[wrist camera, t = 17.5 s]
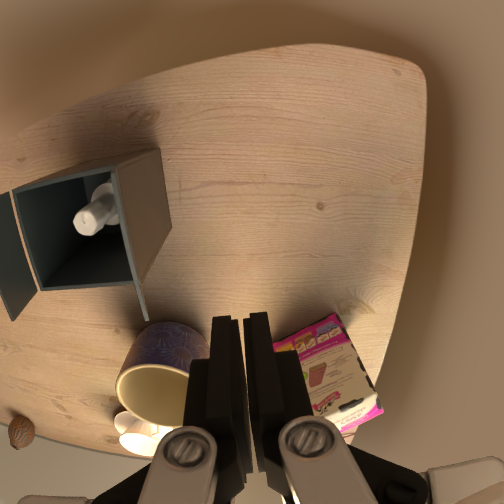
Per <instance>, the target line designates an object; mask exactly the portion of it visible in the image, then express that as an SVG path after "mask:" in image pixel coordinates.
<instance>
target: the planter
mask: <svg viewBox="0 0 504 504" xmlns="http://www.w3.org/2000/svg"><path fill="white" fill-rule="evenodd" d="M209 356H210V349H209V346H208V344H207V342H206V341H205V339H204V338H203V337H202V336H201V335H200V334H199V333H198V332H197V331H195V330H194V329H192V328H191V327H189V326H186V325H184V324H181V323H177V322H159V323H155V324H152V325H150V326H148V327H147V328H145V329H144V330H143V331H142V332H141V333H140V334H139V335H138V336H137V338H136V340H135V341H134V343H133V344H132V346H131V348H130V350H129V352H128V355H127V357H126V359H125V361H124V364H123V366H122V368H121V371H120V373H119V375H118V377H117V380H116V384H115V390H116V394H117V397H118V399H119V401H120V402H121V404H122V405H123V406H124V407H125V408H126V409H127V410H128V411H129V412H130V413H131V414H133V415H134V416H136V417H137V418H139V419H141V420H143V421H145V422H148V423H150V424H153V425H157V426H161V427H168V428H179V427H182V425H183V417H184V409H185V401H186V393H187V385H188V378H189V371H190V364H191V361H192V359H207V358H209Z"/></svg>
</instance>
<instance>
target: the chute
mask: <svg viewBox="0 0 504 504" xmlns="http://www.w3.org/2000/svg"><path fill="white" fill-rule="evenodd" d="M113 166H117V171H118V177H119V183H120V189H121V194H122V200H123V205H124V210H125V215H126V220H127V225H128V230H129V234H130V239H131V243H132V248H133V252H134V256H135V261H136V265H137V269H138V273H139V277H140V281H141V284H142V283H143V281H144V279H145V277H146V275H147V273H148V271H149V269H150V267H151V265H152V263H153V262H154V260H155V258H156V256H157V254H158V252H159V250H160V249H161V247H162V245H163V243H164V241H165V239H166V238H167V236H168V234H169V232H170V230H171V229H172V224H171V218H170V212H169V206H168V200H167V193H166V187H165V180H164V173H163V166H162V159H161V151H160V148H157V149H151V150H145V151H140V152H134V153H129V154H124V155H119V156H114V157H109V158H104V159H99V160H95V161H90V162H86V163H82V164H78V165H75V166H72V167H69V168H67V169H64V170H61V171H58V172H56V173H53V174H50V175H48V176H45V177H42V178H40V179H37V180H35V181H32V182H30V183H27V184H25V185H22V186H20V187H17V188H15V189H13V190H12V193H13V198H14V202H15V207H16V211H17V215H18V219H19V223H20V227H21V231H22V234H23V238H24V241H25V245H26V248H27V252H28V255H29V258H30V261H31V264H32V267H33V270H34V273H35V276H36V279H37V282H38V285H39V287H40V290H41V291H52V290H67V289H81V288H95V287H108V286H121V285H133V284H134V281H133V277H132V273H131V269H130V265H129V261H128V257H127V253H126V249H125V245H124V240H123V236H122V232H121V227H120V223H119V224H117V225H107V224H105V225H104V227H103V228H102V229H101V230H99V231H98V232H96V233H95V234H94V235H91V236H88V235H82V234H80V233H79V232H78V231H77V230H76V228H75V225H74V223H73V220H74V218H75V215H76V214H77V212H78V211H80V210H81V209H82V208H84V207H85V206H86V205H88V204H90V203H91V198H92V195H93V192H94V191H95V189H96V188H97V187H98V186H100V185H101V184H104V183H106V182H107V181H108V180H109V179H110V178H111V175H110V174H111V171H112V168H113ZM37 291H38V290H37V287H36V285H35V282H34V279H33V276H32V273H31V270H30V267H29V264H28V261H27V258H26V255H25V252H24V248H23V245H22V242H21V238H20V235H19V231H18V227H17V224H16V220H15V216H14V212H13V207H12V203H11V198H10V194H9V191H8V192H6V193H3V194H1V195H0V295H1V298H2V300H3V302H4V305H5V307H6V309H7V312H8V314H9V316H10V319H11V321H15V319H16V318H17V317H18V315H19V314H20V313H21V311H22V310H23V309H24V308H25V306H26V305H27V304H28V303H29V301H30V300H31V299H32V298H33V296H34V295H35V294H36V293H37Z"/></svg>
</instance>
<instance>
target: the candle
mask: <svg viewBox="0 0 504 504" xmlns="http://www.w3.org/2000/svg"><path fill="white" fill-rule="evenodd" d="M73 223H74V225H75V228H76V230H77V231H78V232H79V233H80V234H82V235H88V236H91V235H94V234H95V233H96V232H98V231H99V230H101V229H102V228H103V227H104V225H105V224H107V225H117V224H119V223H120V222H119V218H118V213H117V208H116V203H115V197H114V192H113V186H112V181H111V178H110V179H109V180H108V181H107V182H106V183H104V184H101V185H100V186H98V187H97V188H96V189H95V191H94V192H93V195H92V198H91V203H90V204H88V205H86V206H85V207H84V208H82V209H81V210H80V211H78V212H77V214H76V215H75V218H74V220H73Z"/></svg>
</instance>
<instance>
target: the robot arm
mask: <svg viewBox="0 0 504 504" xmlns="http://www.w3.org/2000/svg"><path fill="white" fill-rule="evenodd" d="M243 326H244V343H245V358H246V374H247V382H246V375H245V368H244V361H243V354H242V347H241V340H240V332H239V325H238V319H234V320H231V316H230V315H228V316H217V317H213V319H212V331H211V343H210V356H209V358H207V359H192V361H191V364H190V371H189V378H188V385H187V393H186V401H185V409H184V417H183V425H182V427H179V428H175V429H173V430H171V431H169V432H167V433H166V434H165V435H164V436H163V437H162V438H161V440H160V442H159V443H158V445H157V448H156V451H155V454H154V457H153V460H152V462H151V463H150V464H148V465H147V466H145V467H144V468H142V469H141V470H139V471H138V472H136V473H134V474H133V475H131V476H130V477H128V478H127V479H125V480H123V481H122V482H120V483H119V484H117V485H115V486H114V487H112V488H111V489H109V490H107V491H106V492H104V493H102V494H101V495H99V496H98V497H96V498H95V499H90V500H89V499H87V498H86V497H60V496H41V495H28V496H25V497H23V498H21V499H20V500H19V502H18V503H17V504H234V503H235V496H236V495H237V494H238V493H239V492H241V491H242V490H243V489H244V483H247V482H246V474H247V473H253V465H252V452H251V439H250V438H251V437H250V423H249V414H250V422H251V428H252V434H253V440H254V446H255V452H256V458H257V464H258V470H259V473H260V472H266V475H267V483H268V486H269V487H270V488H272V489H273V490H275V491H277V492H278V493H280V494H281V495H282V499H283V502H284V504H504V462H503V461H502V460H501V459H499V458H497V457H494V456H487V457H482V458H478V459H474V460H470V461H465V462H462V463H456V464H452V465H447V466H441V467H436V468H430V469H428V470H427V471H426V472H421V473H416V472H415V471H413V470H410V469H407V468H405V467H402V466H399V465H397V464H394V463H392V462H389V461H386V460H384V459H382V458H379V457H376V456H374V455H372V454H369V453H367V452H365V451H362V450H360V449H358V448H355V447H353V446H351V445H349V444H346V442H345V440H344V438H343V437H342V435H341V433H340V431H339V429H338V428H337V427H336V425H335V424H334V423H332V422H331V421H329V420H328V419H326V418H323V417H320V416H314V413H313V409H312V405H311V401H310V397H309V394H308V390H307V386H306V382H305V379H304V375H303V371H302V367H301V364H300V360H299V356H298V353H297V350H289V351H280V352H274V348H273V343H272V337H271V332H270V326H269V321H268V315H267V312H258V313H250V318H245V319H243ZM247 389H248V394H247ZM248 403H249V409H248Z"/></svg>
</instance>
